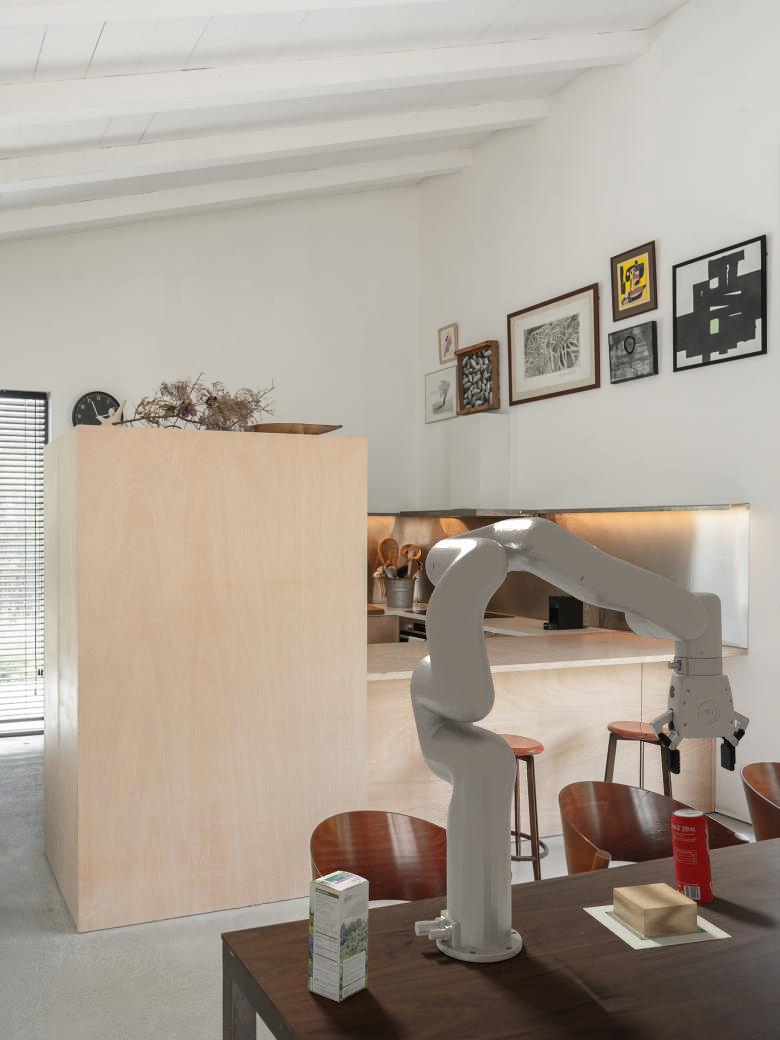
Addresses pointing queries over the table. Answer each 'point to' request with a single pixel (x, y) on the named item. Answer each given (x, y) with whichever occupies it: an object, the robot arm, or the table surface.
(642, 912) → the oak block
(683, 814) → the beverage can
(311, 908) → the syrup box
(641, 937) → the board
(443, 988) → the table surface
